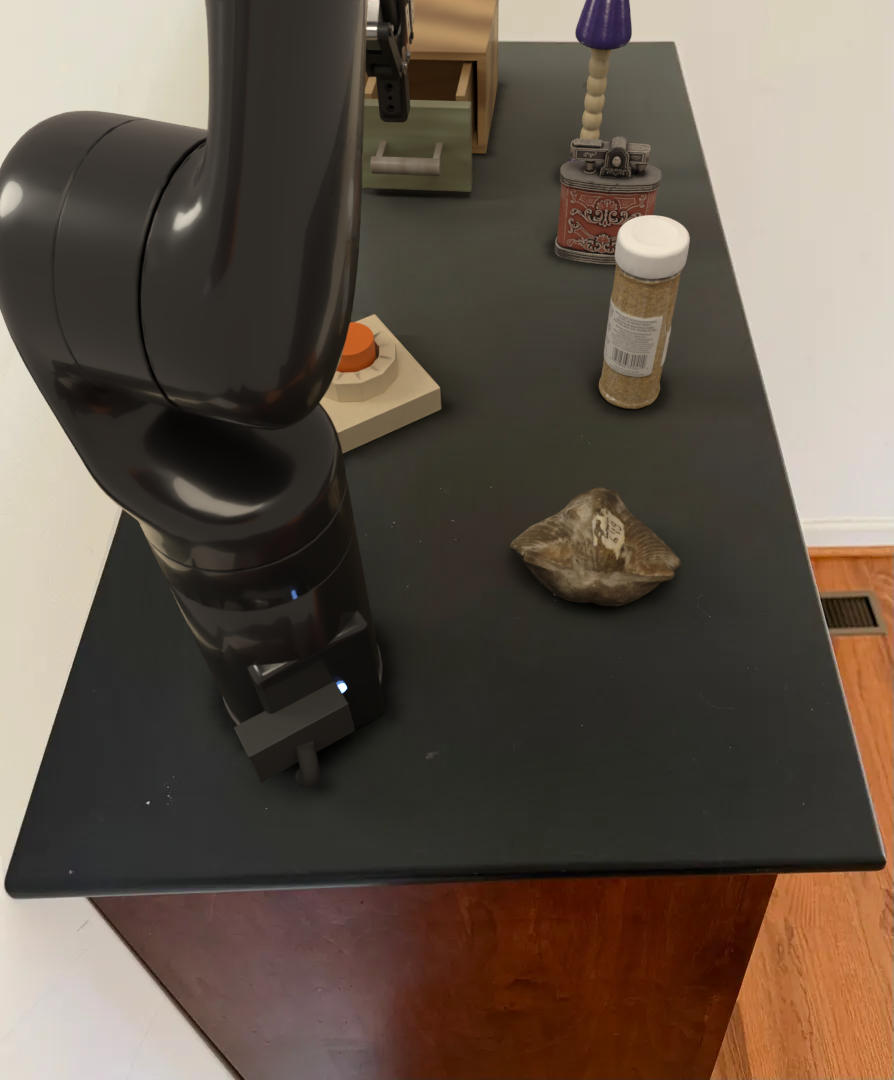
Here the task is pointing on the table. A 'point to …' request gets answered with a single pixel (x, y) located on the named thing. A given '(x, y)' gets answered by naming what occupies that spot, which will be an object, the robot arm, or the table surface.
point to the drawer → (424, 130)
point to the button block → (380, 392)
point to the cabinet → (462, 48)
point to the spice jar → (642, 308)
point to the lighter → (602, 196)
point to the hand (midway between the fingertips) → (395, 117)
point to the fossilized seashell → (596, 552)
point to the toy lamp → (600, 53)
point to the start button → (357, 349)
